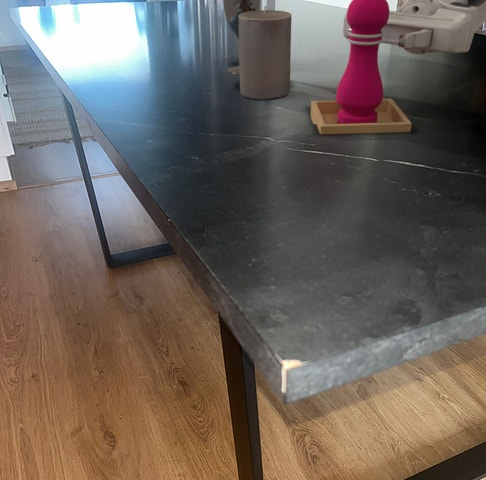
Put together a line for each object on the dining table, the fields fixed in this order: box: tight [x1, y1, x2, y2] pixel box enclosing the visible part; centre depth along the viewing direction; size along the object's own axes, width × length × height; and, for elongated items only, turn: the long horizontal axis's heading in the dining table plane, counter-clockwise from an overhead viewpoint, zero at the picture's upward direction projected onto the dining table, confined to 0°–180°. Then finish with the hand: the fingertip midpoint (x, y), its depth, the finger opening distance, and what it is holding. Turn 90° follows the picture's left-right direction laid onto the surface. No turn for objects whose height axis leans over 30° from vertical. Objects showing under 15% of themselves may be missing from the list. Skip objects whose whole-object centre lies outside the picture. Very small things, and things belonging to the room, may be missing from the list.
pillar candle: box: [238, 5, 292, 101], centre depth 98 cm, size 10×10×15 cm
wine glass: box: [222, 0, 262, 75], centre depth 112 cm, size 8×8×15 cm
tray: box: [310, 98, 413, 135], centre depth 84 cm, size 14×13×3 cm
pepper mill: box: [335, 0, 390, 124], centre depth 79 cm, size 7×7×20 cm
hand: (375, 37), depth 79 cm, fingers open, 8 cm apart
